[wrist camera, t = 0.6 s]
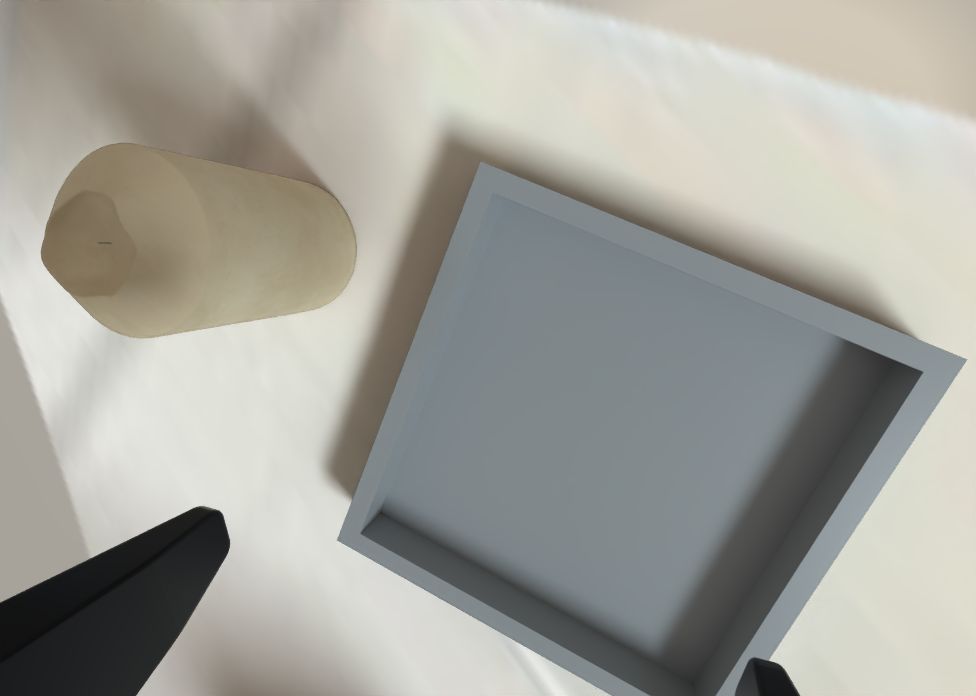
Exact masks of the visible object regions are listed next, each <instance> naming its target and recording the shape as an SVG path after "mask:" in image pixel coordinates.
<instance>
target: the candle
mask: <svg viewBox="0 0 976 696" xmlns="http://www.w3.org/2000/svg"><path fill="white" fill-rule="evenodd" d="M356 250H357V247H356V238H355V233H354V229H353V226H352V223H351V221H350V219H349V217H348V215H347V213H346V212H345V210H344V208H343V207H342V206H341V205H340V203H339V202H338V201H337V200H336V199H335V198H334V197H333V196H332V195H330V194H329V193H327V192H326V191H324V190H323V189H321V188H319V187H317V186H315V185H312V184H310V183H307V182H303V181H299V180H295V179H290V178H286V177H281V176H277V175H272V174H268V173H263V172H259V171H254V170H250V169H245V168H241V167H236V166H232V165H227V164H223V163H218V162H214V161H209V160H205V159H200V158H196V157H191V156H187V155H182V154H178V153H173V152H169V151H164V150H160V149H155V148H151V147H146V146H141V145H136V144H131V143H118V144H111V145H108V146H105V147H101V148H99V149H97V150H95V151H94V152H92V153H90V154H89V155H88V156H86V157H85V158H84V159H83V160H82V161H81V162H80V163H79V164H78V165H77V166H76V167H75V168H74V169H73V171H72V172H71V173H70V174H69V176H68V177H67V179H66V180H65V182H64V184H63V185H62V187H61V189H60V191H59V193H58V195H57V197H56V200H55V202H54V205H53V208H52V211H51V214H50V217H49V220H48V222H47V225H46V230H45V237H44V240H43V244H42V248H41V258H42V261H43V263H44V266H45V267H46V268H47V270H48V271H49V272H50V274H51V275H52V276H53V277H54V278H55V279H56V280H57V282H58V283H59V284H60V285H61V286H62V287H63V288H64V289H65V290H66V291H67V292H69V293H70V294H71V295H72V297H73V298H74V299H75V300H76V301H77V302H78V303H79V304H80V305H81V306H82V307H83V308H84V309H85V310H86V311H87V312H88V313H89V314H90V315H91V316H92V317H93V318H94V319H96V320H97V321H98V322H99V323H101V324H102V325H104V326H105V327H107V328H108V329H110V330H112V331H114V332H116V333H119V334H121V335H125V336H128V337H133V338H153V337H159V336H165V335H171V334H177V333H183V332H189V331H195V330H201V329H207V328H213V327H219V326H225V325H230V324H236V323H242V322H248V321H254V320H260V319H266V318H272V317H278V316H284V315H289V314H295V313H301V312H306V311H310V310H314V309H317V308H320V307H322V306H324V305H326V304H328V303H330V302H331V301H333V300H334V299H335V298H337V297H338V296H339V295H340V294H341V293H342V291H343V290H344V289H345V287H346V286H347V284H348V282H349V281H350V278H351V276H352V274H353V270H354V267H355V262H356Z"/></svg>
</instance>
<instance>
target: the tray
mask: <svg viewBox="0 0 976 696" xmlns="http://www.w3.org/2000/svg"><path fill="white" fill-rule="evenodd" d="M966 361H967V359H965V358H962V357H960V356H957V355H955V354H952V353H950V352H948V351H945V350H943V349H940V348H938V347H935V346H933V345H930V344H928V343H925V342H923V341H921V340H918V339H916V338H913V337H911V336H908V335H906V334H903V333H901V332H898V331H896V330H894V329H891V328H889V327H886V326H884V325H881V324H879V323H876V322H874V321H871V320H869V319H867V318H864V317H862V316H859V315H857V314H854V313H852V312H849V311H847V310H844V309H842V308H840V307H837V306H835V305H832V304H830V303H827V302H825V301H822V300H820V299H817V298H815V297H813V296H810V295H808V294H805V293H803V292H800V291H798V290H795V289H793V288H790V287H788V286H786V285H783V284H781V283H778V282H776V281H773V280H771V279H768V278H766V277H763V276H761V275H759V274H756V273H754V272H751V271H749V270H746V269H744V268H741V267H739V266H736V265H734V264H732V263H729V262H727V261H724V260H722V259H719V258H717V257H714V256H712V255H709V254H707V253H705V252H702V251H700V250H697V249H695V248H692V247H690V246H687V245H685V244H682V243H680V242H678V241H675V240H673V239H670V238H668V237H665V236H663V235H660V234H658V233H655V232H653V231H651V230H648V229H646V228H643V227H641V226H638V225H636V224H633V223H631V222H628V221H626V220H624V219H621V218H619V217H616V216H614V215H611V214H609V213H606V212H604V211H601V210H599V209H597V208H594V207H592V206H589V205H587V204H584V203H582V202H579V201H577V200H574V199H572V198H570V197H567V196H565V195H562V194H560V193H557V192H555V191H552V190H550V189H547V188H545V187H543V186H540V185H538V184H535V183H533V182H530V181H528V180H525V179H523V178H520V177H518V176H516V175H513V174H511V173H508V172H506V171H503V170H501V169H498V168H496V167H493V166H491V165H489V164H486V163H484V162H481V161H480V164H479V167H478V169H477V172H476V175H475V177H474V180H473V183H472V185H471V188H470V190H469V193H468V196H467V198H466V201H465V204H464V206H463V209H462V212H461V214H460V217H459V220H458V222H457V225H456V227H455V230H454V233H453V235H452V238H451V241H450V243H449V246H448V249H447V251H446V254H445V257H444V259H443V262H442V264H441V267H440V270H439V272H438V275H437V278H436V280H435V283H434V286H433V288H432V291H431V293H430V296H429V299H428V301H427V304H426V307H425V309H424V312H423V315H422V317H421V320H420V323H419V325H418V328H417V330H416V333H415V336H414V338H413V341H412V344H411V346H410V349H409V352H408V354H407V357H406V360H405V362H404V365H403V367H402V370H401V373H400V375H399V378H398V381H397V383H396V386H395V389H394V391H393V394H392V397H391V399H390V402H389V404H388V407H387V410H386V412H385V415H384V418H383V420H382V423H381V426H380V428H379V431H378V434H377V436H376V439H375V441H374V444H373V447H372V449H371V452H370V455H369V457H368V460H367V463H366V465H365V468H364V471H363V473H362V476H361V478H360V481H359V484H358V486H357V489H356V492H355V494H354V497H353V500H352V502H351V505H350V508H349V510H348V513H347V515H346V518H345V521H344V523H343V526H342V529H341V531H340V534H339V537H338V539H337V541H339V542H341V543H343V544H345V545H346V546H348V547H350V548H352V549H353V550H355V551H357V552H359V553H361V554H362V555H364V556H366V557H368V558H369V559H371V560H373V561H375V562H376V563H378V564H380V565H382V566H384V567H385V568H387V569H389V570H391V571H392V572H394V573H396V574H398V575H399V576H401V577H403V578H405V579H407V580H408V581H410V582H412V583H414V584H415V585H417V586H419V587H421V588H422V589H424V590H426V591H428V592H430V593H431V594H433V595H435V596H437V597H438V598H440V599H442V600H444V601H445V602H447V603H449V604H451V605H453V606H454V607H456V608H458V609H460V610H461V611H463V612H465V613H467V614H468V615H470V616H472V617H474V618H476V619H477V620H479V621H481V622H483V623H484V624H486V625H488V626H490V627H491V628H493V629H495V630H497V631H499V632H500V633H502V634H504V635H506V636H507V637H509V638H511V639H513V640H514V641H516V642H518V643H520V644H522V645H523V646H525V647H527V648H529V649H530V650H532V651H534V652H536V653H537V654H539V655H541V656H543V657H545V658H546V659H548V660H550V661H552V662H553V663H555V664H557V665H559V666H560V667H562V668H564V669H566V670H568V671H569V672H571V673H573V674H575V675H576V676H578V677H580V678H582V679H584V680H585V681H587V682H589V683H591V684H592V685H594V686H596V687H598V688H599V689H601V690H603V691H605V692H607V693H608V694H610V695H612V696H735V691H736V688H737V685H738V683H739V681H740V678H741V676H742V674H743V671H744V669H745V667H746V665H747V662H748V661H749V659H751V658H753V657H756V658H760V659H764V660H767V661H769V659H770V658H771V656H772V655H773V653H774V652H775V650H776V648H777V647H778V645H779V644H780V642H781V641H782V639H783V638H784V636H785V635H786V633H787V632H788V630H789V629H790V627H791V626H792V624H793V623H794V621H795V620H796V618H797V617H798V615H799V614H800V612H801V611H802V609H803V608H804V606H805V605H806V603H807V602H808V600H809V598H810V597H811V595H812V594H813V592H814V591H815V589H816V588H817V586H818V585H819V583H820V582H821V580H822V579H823V577H824V576H825V574H826V573H827V571H828V570H829V568H830V567H831V565H832V564H833V562H834V561H835V559H836V558H837V556H838V555H839V553H840V552H841V550H842V548H843V547H844V545H845V544H846V542H847V541H848V539H849V538H850V536H851V535H852V533H853V532H854V530H855V529H856V527H857V526H858V524H859V523H860V521H861V520H862V518H863V517H864V515H865V514H866V512H867V511H868V509H869V508H870V506H871V505H872V503H873V502H874V500H875V498H876V497H877V495H878V494H879V492H880V491H881V489H882V488H883V486H884V485H885V483H886V482H887V480H888V479H889V477H890V476H891V474H892V473H893V471H894V470H895V468H896V467H897V465H898V464H899V462H900V461H901V459H902V458H903V456H904V455H905V453H906V452H907V450H908V448H909V447H910V445H911V444H912V442H913V441H914V439H915V438H916V436H917V435H918V433H919V432H920V430H921V429H922V427H923V426H924V424H925V423H926V421H927V420H928V418H929V417H930V415H931V414H932V412H933V411H934V409H935V408H936V406H937V405H938V403H939V401H940V400H941V398H942V397H943V395H944V394H945V392H946V391H947V389H948V388H949V386H950V385H951V383H952V382H953V380H954V379H955V377H956V376H957V374H958V373H959V371H960V370H961V368H962V367H963V365H964V364H965V362H966Z"/></svg>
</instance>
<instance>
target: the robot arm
mask: <svg viewBox="0 0 976 696" xmlns="http://www.w3.org/2000/svg"><path fill="white" fill-rule="evenodd" d="M229 548H230V539H229V535H228V531H227V527H226V524H225V520H224V516H223V514H222V513H221V512H220V511H219V510H216V509H212V508H209V507H205V506H199V507H195V508H193V509H191V510H189V511H187V512H185V513H183V514H181V515H178V516H176V517H174V518H172V519H170V520H168V521H166V522H164V523H162V524H160V525H158V526H156V527H154V528H152V529H150V530H148V531H146V532H144V533H142V534H140V535H138V536H136V537H133V538H131V539H129V540H127V541H125V542H123V543H121V544H119V545H117V546H115V547H113V548H111V549H109V550H107V551H105V552H103V553H101V554H99V555H97V556H95V557H93V558H91V559H88V560H87V561H85V562H83V563H80V564H78V565H76V566H74V567H72V568H70V569H68V570H66V571H64V572H62V573H60V574H58V575H56V576H54V577H52V578H50V579H48V580H46V581H43V582H42V583H39V584H37V585H35V586H33V587H31V588H29V589H27V590H25V591H23V592H21V593H19V594H17V595H15V596H13V597H11V598H9V599H7V600H5V601H3V602H1V603H0V696H136V695H137V694H138V692H139V691H140V689H141V688H142V687H143V685H144V684H145V682H146V681H147V680H148V678H149V677H150V676H151V674H152V673H153V671H154V670H155V669H156V667H157V666H158V664H159V663H160V662H161V660H162V659H163V657H164V656H165V655H166V653H167V652H168V650H169V649H170V648H171V646H172V645H173V643H174V642H175V640H176V639H177V637H178V636H179V635H180V633H181V631H182V630H183V628H184V627H185V625H186V624H187V622H188V620H189V619H190V617H191V615H192V614H193V612H194V610H195V608H196V607H197V605H198V603H199V602H200V600H201V598H202V597H203V595H204V593H205V592H206V590H207V588H208V586H209V585H210V583H211V581H212V580H213V578H214V576H215V575H216V573H217V571H218V570H219V568H220V566H221V565H222V563H223V561H224V559H225V558H226V556H227V554H228V551H229ZM735 696H800V694H799V693H798V691H797V689H796V688H795V686H794V684H793V682H792V681H791V679H790V677H789V676H788V674H787V672H786V671H785V669H784V668H783V667H782V666H781V665H779V664H777V663H775V662H771V661H767V660H764V659H760V658H756V657H753V658H751V659H749V661H748V662H747V665H746V667H745V669H744V671H743V674H742V676H741V678H740V681H739V683H738V685H737V688H736V691H735Z"/></svg>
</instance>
